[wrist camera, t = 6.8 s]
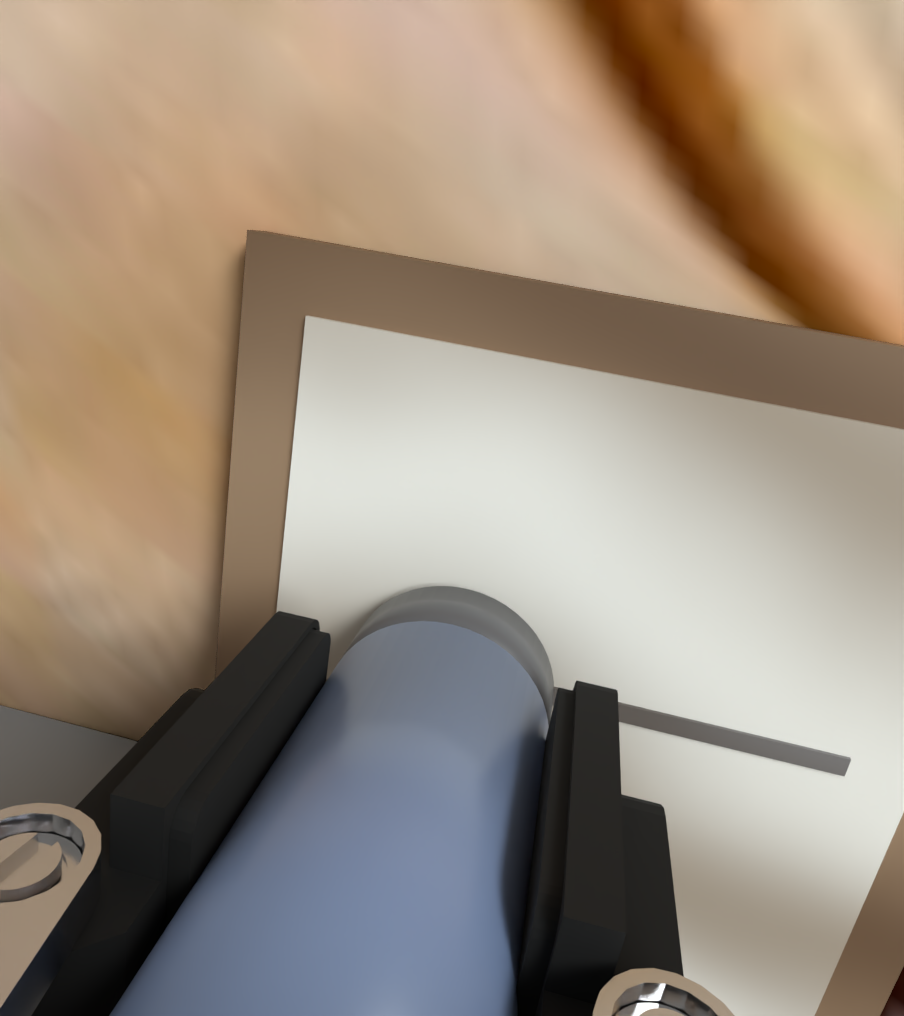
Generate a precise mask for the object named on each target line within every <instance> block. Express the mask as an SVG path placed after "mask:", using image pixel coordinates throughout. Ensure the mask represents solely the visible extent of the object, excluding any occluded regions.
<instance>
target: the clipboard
mask: <svg viewBox="0 0 904 1016" xmlns="http://www.w3.org/2000/svg"><path fill="white" fill-rule="evenodd" d="M431 586H453V587H459V588H466V589H469V590H473V591H476V592H480V593H482V594H485V595H487V596H489V597H492V598H494V599H496V600H497V601H499V602H501V603H503V604H505V605H506V606H507V607H509V608H510V609H512V610H513V611H514V612H516V613H517V614H518V615H519V616H520V617H521V618H522V619H523V620H524V621H525V622H526V623H527V624H528V625H529V626H530V627H531V628H532V630H533V631H534V632H535V633H536V635H537V636H538V638H539V640H540V641H541V643H542V644H543V646H544V649H545V651H546V653H547V655H548V658H549V661H550V664H551V668H552V673H553V680H554V697H553V706H554V702H555V698H556V694H557V690H558V688H559V687H560V688H564V689H568V690H573V688H574V685H575V682H576V680H577V681H582V682H586V683H590V684H594V685H599V686H603V687H607V688H612V689H616V690H617V691H618V711H619V740H620V769H621V794H622V795H626V796H630V797H634V798H638V799H642V800H646V801H650V802H654V803H658V804H661V805H662V806H663V807H664V811H665V815H666V823H667V832H668V841H669V850H670V859H671V868H672V877H673V885H674V894H675V903H676V912H677V921H678V930H679V939H680V948H681V957H682V965H683V974H684V977H685V978H687V979H689V980H691V981H693V982H695V983H697V984H699V985H701V986H703V987H704V988H705V989H706V990H708V991H709V992H710V993H712V994H713V995H714V996H715V997H717V998H718V999H719V1000H721V1001H722V1002H723V1003H724V1004H725V1005H726V1006H727V1007H728V1009H729V1010H730V1011H731V1012H732V1013H733V1014H734V1016H880V1014H881V1012H882V1010H883V1008H884V1006H885V1004H886V1002H887V1000H888V998H889V996H890V993H891V991H892V989H893V987H894V985H895V983H896V981H897V979H898V977H899V975H900V972H901V970H902V968H903V966H904V346H903V345H898V344H892V343H887V342H881V341H875V340H870V339H864V338H859V337H853V336H847V335H842V334H836V333H831V332H825V331H820V330H814V329H808V328H803V327H797V326H792V325H786V324H780V323H775V322H769V321H764V320H758V319H753V318H747V317H741V316H736V315H730V314H725V313H719V312H713V311H708V310H702V309H697V308H691V307H685V306H680V305H674V304H669V303H663V302H658V301H652V300H646V299H641V298H635V297H630V296H624V295H618V294H613V293H607V292H602V291H596V290H591V289H585V288H579V287H574V286H568V285H563V284H557V283H551V282H546V281H540V280H535V279H529V278H523V277H518V276H512V275H507V274H501V273H496V272H490V271H484V270H479V269H473V268H468V267H462V266H456V265H451V264H445V263H440V262H434V261H429V260H423V259H417V258H412V257H406V256H401V255H395V254H389V253H384V252H378V251H373V250H367V249H361V248H356V247H350V246H345V245H339V244H334V243H328V242H322V241H317V240H311V239H306V238H300V237H294V236H289V235H283V234H278V233H272V232H267V231H255V230H247V240H246V254H245V268H244V282H243V296H242V310H241V324H240V338H239V352H238V366H237V379H236V393H235V407H234V421H233V435H232V449H231V463H230V477H229V491H228V505H227V519H226V533H225V547H224V560H223V574H222V588H221V602H220V616H219V630H218V644H217V658H216V672H215V679H216V678H217V677H218V676H219V674H220V673H221V672H222V671H223V670H224V669H225V668H226V667H227V666H228V665H229V664H230V662H231V661H232V660H233V659H234V658H235V657H236V656H237V655H238V654H239V653H240V651H241V650H242V649H243V648H244V647H245V646H246V645H247V644H248V643H249V642H250V641H251V639H252V638H253V637H254V636H255V635H256V634H257V633H258V632H259V631H260V630H261V629H262V627H263V626H264V625H265V624H266V623H267V622H268V621H269V620H270V619H271V618H272V616H273V615H274V614H275V613H277V612H278V611H282V612H286V613H291V614H295V615H299V616H304V617H308V618H312V619H316V620H318V621H319V625H320V631H322V632H326V633H329V634H330V637H331V644H330V653H329V661H328V669H327V677H326V681H327V679H328V678H329V676H330V675H331V673H332V672H333V670H334V669H335V667H336V666H337V664H338V663H339V661H340V659H341V658H342V656H343V655H344V653H345V652H346V650H347V649H348V647H349V646H350V644H351V642H352V641H353V639H354V638H355V636H356V635H357V633H358V632H359V630H360V629H361V627H362V626H363V624H364V623H365V622H366V620H367V619H368V618H369V616H370V615H371V614H372V613H373V612H374V611H375V610H376V609H377V608H379V607H380V606H381V605H383V604H384V603H385V602H387V601H388V600H390V599H392V598H394V597H396V596H398V595H400V594H402V593H405V592H408V591H410V590H414V589H418V588H423V587H431ZM553 706H552V711H553Z"/></svg>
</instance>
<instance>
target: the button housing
mask: <svg viewBox="0 0 904 1016" xmlns="http://www.w3.org/2000/svg"><path fill="white" fill-rule="evenodd" d="M136 743H137V741H134V740H130V739H126V738H122V737H119V736H115V735H111V734H107V733H103V732H100V731H96V730H92V729H88V728H84V727H81V726H77V725H73V724H69V723H66V722H62V721H58V720H54V719H50V718H47V717H43V716H39V715H35V714H32V713H28V712H24V711H20V710H16V709H13V708H9V707H5V706H1V705H0V810H2V809H5V808H8V807H11V806H16V805H24V804H31V803H51V804H62V805H65V806H68V807H71V808H75V807H76V806H77V805H78V804H79V803H80V802H81V801H82V800H83V799H84V798H85V797H86V795H87V794H88V793H89V792H90V791H91V790H92V789H93V788H94V787H95V786H96V785H97V784H98V783H99V782H100V781H101V780H102V779H103V778H104V777H105V776H106V775H107V774H108V772H109V771H110V770H111V769H112V768H113V767H114V766H115V765H116V764H117V763H118V762H119V761H120V760H121V759H122V758H123V757H124V756H125V755H126V754H127V753H128V752H129V750H130V749H131V748H132V747H133V746H134V745H135V744H136Z"/></svg>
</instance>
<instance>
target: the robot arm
mask: <svg viewBox="0 0 904 1016" xmlns="http://www.w3.org/2000/svg"><path fill="white" fill-rule="evenodd" d="M330 644H331V637H330V634H329V633H326V632H322V631H320V625H319V621H318V620H316V619H312V618H308V617H304V616H299V615H295V614H291V613H286V612H282V611H278V612H277V613H275V614H274V615H273V616H272V618H271V619H270V620H269V621H268V622H267V623H266V624H265V625H264V626H263V627H262V629H261V630H260V631H259V632H258V633H257V634H256V635H255V636H254V637H253V638H252V639H251V641H250V642H249V643H248V644H247V645H246V646H245V647H244V648H243V649H242V650H241V651H240V653H239V654H238V655H237V656H236V657H235V658H234V659H233V660H232V661H231V662H230V664H229V665H228V666H227V667H226V668H225V669H224V670H223V671H222V672H221V673H220V674H219V676H218V677H217V678H216V679H215V680H214V681H213V682H212V683H211V684H210V685H209V686H208V688H207V689H206V690H201V689H197V688H194V689H190V690H188V691H187V692H186V693H184V694H183V695H182V696H181V697H180V698H179V699H178V700H177V701H176V702H175V703H174V704H173V705H172V707H171V708H170V709H169V710H168V711H167V712H166V713H165V714H164V715H163V716H162V717H161V718H160V719H159V720H158V721H157V722H156V723H155V724H154V725H153V726H152V727H151V729H150V730H149V731H148V732H147V733H146V734H145V735H144V736H143V737H142V738H141V739H140V740H139V741H138V742H137V743H136V744H135V745H134V746H133V747H132V748H131V749H130V750H129V752H128V753H127V754H126V755H125V756H124V757H123V758H122V759H121V760H120V761H119V762H118V763H117V764H116V765H115V766H114V767H113V768H112V769H111V770H110V771H109V772H108V774H107V775H106V776H105V777H104V778H103V779H102V780H101V781H100V782H99V783H98V784H97V785H96V786H95V787H94V788H93V789H92V790H91V791H90V792H89V793H88V794H87V795H86V797H85V798H84V799H83V800H82V801H81V802H80V803H79V804H78V805H77V806H76V807H75V808H71V807H68V806H65V805H62V804H51V803H31V804H24V805H16V806H11V807H8V808H5V809H2V810H0V1016H109V1015H110V1014H111V1012H112V1011H113V1009H114V1008H115V1006H116V1005H117V1003H118V1002H119V1000H120V998H121V997H122V995H123V994H124V992H125V991H126V989H127V988H128V986H129V985H130V983H131V981H132V980H133V978H134V977H135V975H136V974H137V972H138V971H139V969H140V968H141V966H142V965H143V963H144V961H145V960H146V958H147V957H148V955H149V954H150V952H151V951H152V949H153V948H154V946H155V944H156V943H157V941H158V940H159V938H160V937H161V935H162V934H163V932H164V931H165V929H166V928H167V926H168V924H169V923H170V921H171V920H172V918H173V917H174V915H175V914H176V912H177V911H178V909H179V908H180V906H181V904H182V903H183V901H184V900H185V898H186V897H187V895H188V894H189V892H190V891H191V889H192V887H193V886H194V884H195V883H196V881H197V880H198V878H199V877H200V875H201V874H202V872H203V871H204V869H205V867H206V866H207V864H208V863H209V861H210V860H211V858H212V857H213V855H214V854H215V852H216V851H217V849H218V847H219V846H220V844H221V843H222V841H223V840H224V838H225V837H226V835H227V834H228V832H229V830H230V829H231V827H232V826H233V824H234V823H235V821H236V820H237V818H238V817H239V815H240V814H241V812H242V810H243V809H244V807H245V806H246V804H247V803H248V801H249V800H250V798H251V797H252V795H253V793H254V792H255V790H256V789H257V787H258V786H259V784H260V783H261V781H262V780H263V778H264V777H265V775H266V773H267V772H268V770H269V769H270V767H271V766H272V764H273V763H274V761H275V760H276V758H277V757H278V755H279V753H280V752H281V750H282V749H283V747H284V746H285V744H286V743H287V741H288V740H289V738H290V736H291V735H292V733H293V732H294V730H295V729H296V727H297V726H298V724H299V723H300V721H301V720H302V718H303V716H304V715H305V713H306V712H307V710H308V709H309V707H310V706H311V704H312V703H313V701H314V699H315V698H316V696H317V695H318V693H319V692H320V690H321V689H322V687H323V686H324V684H325V683H326V677H327V669H328V661H329V653H330ZM516 996H517V1004H518V1016H734V1014H733V1013H732V1012H731V1011H730V1010H729V1009H728V1007H727V1006H726V1005H725V1004H724V1003H723V1002H722V1001H721V1000H719V999H718V998H717V997H715V996H714V995H713V994H712V993H710V992H709V991H708V990H706V989H705V988H704V987H703V986H701V985H699V984H697V983H695V982H693V981H691V980H689V979H687V978H685V977H684V974H683V965H682V957H681V948H680V939H679V930H678V921H677V912H676V903H675V894H674V885H673V877H672V868H671V859H670V850H669V841H668V832H667V823H666V815H665V811H664V807H663V806H662V805H661V804H658V803H654V802H650V801H646V800H642V799H638V798H634V797H630V796H626V795H622V794H621V769H620V740H619V711H618V691H617V690H616V689H612V688H607V687H603V686H599V685H594V684H590V683H586V682H582V681H577V680H576V682H575V685H574V688H573V690H568V689H564V688H560V687H559V688H558V690H557V694H556V698H555V702H554V706H553V711H552V715H551V719H550V724H549V728H548V732H547V736H546V741H545V750H544V758H543V767H542V775H541V784H540V792H539V801H538V809H537V818H536V826H535V835H534V843H533V852H532V860H531V869H530V877H529V885H528V894H527V902H526V911H525V919H524V928H523V936H522V945H521V953H520V962H519V970H518V979H517V987H516Z"/></svg>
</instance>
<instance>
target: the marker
mask: <svg viewBox="0 0 904 1016" xmlns="http://www.w3.org/2000/svg"><path fill="white" fill-rule="evenodd" d="M553 697H554V680H553V673H552V668H551V664H550V661H549V658H548V655H547V653H546V651H545V649H544V646H543V644H542V643H541V641H540V640H539V638H538V636H537V635H536V633H535V632H534V631H533V630H532V628H531V627H530V626H529V625H528V624H527V623H526V622H525V621H524V620H523V619H522V618H521V617H520V616H519V615H518V614H517V613H516V612H514V611H513V610H512V609H510V608H509V607H507V606H506V605H505V604H503V603H501V602H499V601H497V600H496V599H494V598H492V597H489V596H487V595H485V594H482V593H480V592H476V591H473V590H469V589H466V588H459V587H453V586H431V587H423V588H418V589H414V590H410V591H408V592H405V593H402V594H400V595H398V596H396V597H394V598H392V599H390V600H388V601H387V602H385V603H384V604H383V605H381V606H380V607H379V608H377V609H376V610H375V611H374V612H373V613H372V614H371V615H370V616H369V618H368V619H367V620H366V622H365V623H364V624H363V626H362V627H361V629H360V630H359V632H358V633H357V635H356V636H355V638H354V639H353V641H352V642H351V644H350V646H349V647H348V649H347V650H346V652H345V653H344V655H343V656H342V658H341V659H340V661H339V663H338V664H337V666H336V667H335V669H334V670H333V672H332V673H331V675H330V676H329V678H328V679H327V681H326V683H325V684H324V686H323V687H322V689H321V690H320V692H319V693H318V695H317V696H316V698H315V699H314V701H313V703H312V704H311V706H310V707H309V709H308V710H307V712H306V713H305V715H304V716H303V718H302V720H301V721H300V723H299V724H298V726H297V727H296V729H295V730H294V732H293V733H292V735H291V736H290V738H289V740H288V741H287V743H286V744H285V746H284V747H283V749H282V750H281V752H280V753H279V755H278V757H277V758H276V760H275V761H274V763H273V764H272V766H271V767H270V769H269V770H268V772H267V773H266V775H265V777H264V778H263V780H262V781H261V783H260V784H259V786H258V787H257V789H256V790H255V792H254V793H253V795H252V797H251V798H250V800H249V801H248V803H247V804H246V806H245V807H244V809H243V810H242V812H241V814H240V815H239V817H238V818H237V820H236V821H235V823H234V824H233V826H232V827H231V829H230V830H229V832H228V834H227V835H226V837H225V838H224V840H223V841H222V843H221V844H220V846H219V847H218V849H217V851H216V852H215V854H214V855H213V857H212V858H211V860H210V861H209V863H208V864H207V866H206V867H205V869H204V871H203V872H202V874H201V875H200V877H199V878H198V880H197V881H196V883H195V884H194V886H193V887H192V889H191V891H190V892H189V894H188V895H187V897H186V898H185V900H184V901H183V903H182V904H181V906H180V908H179V909H178V911H177V912H176V914H175V915H174V917H173V918H172V920H171V921H170V923H169V924H168V926H167V928H166V929H165V931H164V932H163V934H162V935H161V937H160V938H159V940H158V941H157V943H156V944H155V946H154V948H153V949H152V951H151V952H150V954H149V955H148V957H147V958H146V960H145V961H144V963H143V965H142V966H141V968H140V969H139V971H138V972H137V974H136V975H135V977H134V978H133V980H132V981H131V983H130V985H129V986H128V988H127V989H126V991H125V992H124V994H123V995H122V997H121V998H120V1000H119V1002H118V1003H117V1005H116V1006H115V1008H114V1009H113V1011H112V1012H111V1014H110V1015H109V1016H518V1004H517V996H516V987H517V979H518V970H519V962H520V953H521V945H522V936H523V928H524V919H525V911H526V902H527V894H528V885H529V877H530V869H531V860H532V852H533V843H534V835H535V826H536V818H537V809H538V801H539V792H540V784H541V775H542V767H543V758H544V750H545V741H546V736H547V732H548V728H549V724H550V719H551V715H552V706H553Z"/></svg>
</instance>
